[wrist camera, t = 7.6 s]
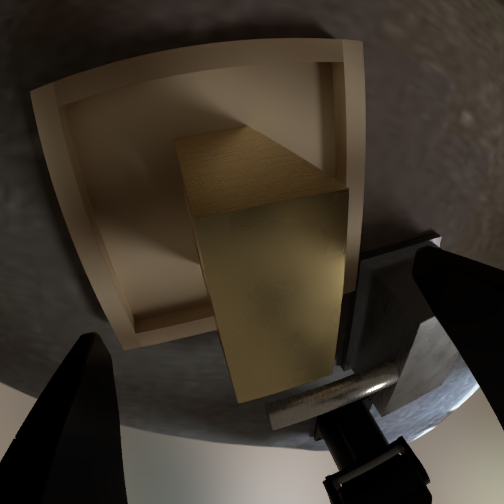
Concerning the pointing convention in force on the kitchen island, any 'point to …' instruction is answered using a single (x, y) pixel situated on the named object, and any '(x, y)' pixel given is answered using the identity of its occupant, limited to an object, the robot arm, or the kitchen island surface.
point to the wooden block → (266, 255)
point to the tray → (167, 168)
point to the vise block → (381, 341)
